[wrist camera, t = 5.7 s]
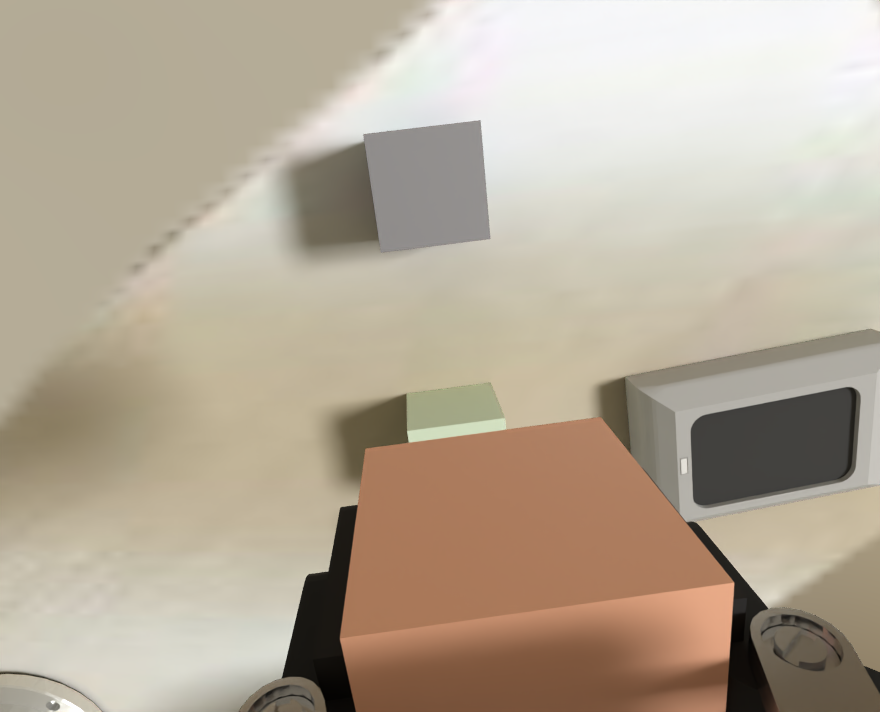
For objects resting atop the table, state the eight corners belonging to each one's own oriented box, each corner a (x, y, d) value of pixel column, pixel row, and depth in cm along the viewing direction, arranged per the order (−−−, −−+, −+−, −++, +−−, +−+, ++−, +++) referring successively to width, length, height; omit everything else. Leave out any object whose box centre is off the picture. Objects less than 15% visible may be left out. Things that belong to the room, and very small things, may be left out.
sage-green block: (497, 456, 35) (512, 502, 30) (417, 467, 34) (419, 514, 30) (490, 382, 33) (505, 418, 28) (406, 392, 33) (407, 431, 28)
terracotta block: (605, 605, 13) (717, 844, 9) (398, 634, 13) (396, 893, 8) (600, 417, 12) (734, 582, 7) (365, 448, 12) (340, 638, 7)
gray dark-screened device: (903, 494, 33) (657, 542, 33) (855, 463, 37) (633, 507, 37) (918, 345, 30) (647, 398, 30) (865, 326, 34) (622, 374, 34)
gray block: (476, 227, 30) (490, 238, 25) (384, 239, 30) (380, 252, 25) (467, 128, 28) (480, 120, 24) (369, 140, 28) (363, 134, 24)
